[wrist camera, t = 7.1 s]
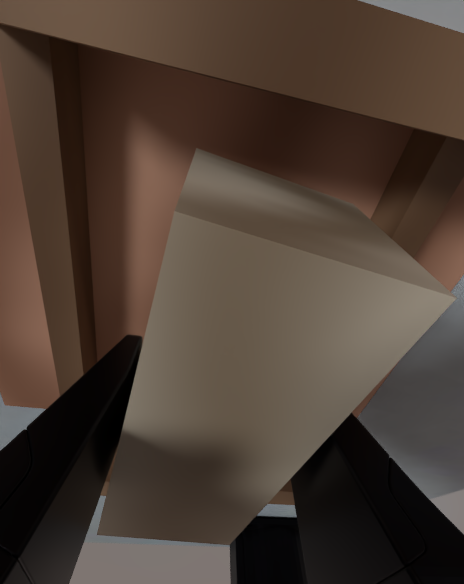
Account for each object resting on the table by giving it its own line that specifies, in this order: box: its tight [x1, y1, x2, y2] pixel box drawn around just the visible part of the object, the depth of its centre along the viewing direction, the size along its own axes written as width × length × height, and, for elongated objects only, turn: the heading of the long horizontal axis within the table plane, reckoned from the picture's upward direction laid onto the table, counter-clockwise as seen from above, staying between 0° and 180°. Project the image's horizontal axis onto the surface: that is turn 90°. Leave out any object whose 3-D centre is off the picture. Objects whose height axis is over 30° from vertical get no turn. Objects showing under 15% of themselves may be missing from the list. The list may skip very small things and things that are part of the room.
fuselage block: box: [97, 148, 457, 545], centre depth 8 cm, size 4×10×4 cm, turn 161°
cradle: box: [0, 0, 464, 505], centre depth 10 cm, size 18×17×5 cm
